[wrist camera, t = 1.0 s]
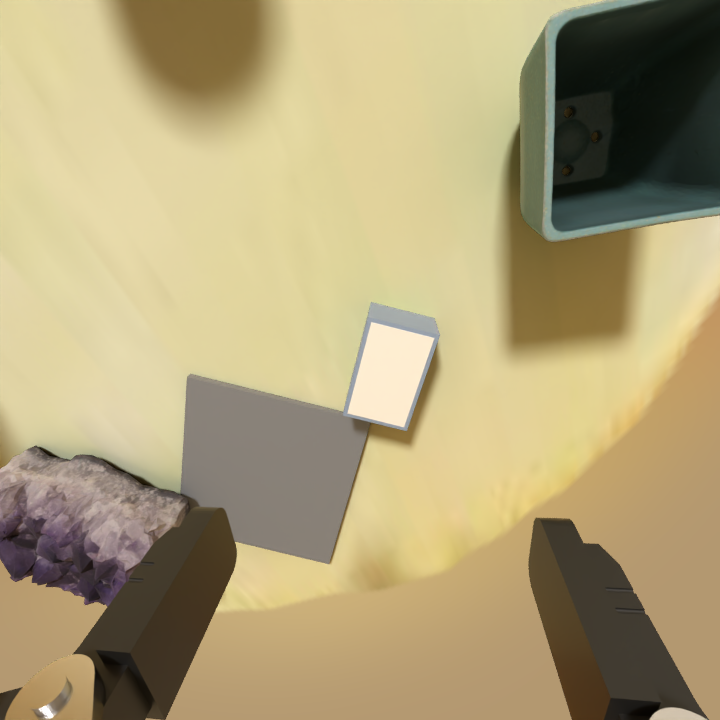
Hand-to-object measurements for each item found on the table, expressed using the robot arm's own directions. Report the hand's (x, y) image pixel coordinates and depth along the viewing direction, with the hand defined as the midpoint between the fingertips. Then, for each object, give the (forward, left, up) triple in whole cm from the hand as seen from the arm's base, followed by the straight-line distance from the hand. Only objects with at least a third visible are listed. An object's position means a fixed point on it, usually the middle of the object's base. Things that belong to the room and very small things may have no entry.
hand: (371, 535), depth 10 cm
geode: (-22, -26, -21) cm, 40 cm away
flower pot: (+8, +13, -21) cm, 26 cm away
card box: (+1, -4, -21) cm, 22 cm away
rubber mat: (-7, -19, -21) cm, 29 cm away
